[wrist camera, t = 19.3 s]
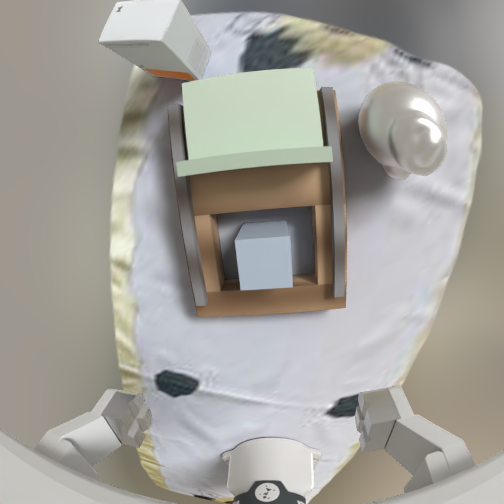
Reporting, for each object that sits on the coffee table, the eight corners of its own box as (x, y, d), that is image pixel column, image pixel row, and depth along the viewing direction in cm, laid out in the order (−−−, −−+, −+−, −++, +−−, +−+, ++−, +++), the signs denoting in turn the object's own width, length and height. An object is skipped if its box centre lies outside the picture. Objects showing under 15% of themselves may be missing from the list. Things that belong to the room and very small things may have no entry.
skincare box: (153, 77, 25) (94, 43, 14) (165, 46, 24) (115, 0, 13) (202, 84, 25) (160, 42, 14) (214, 51, 24) (181, -4, 13)
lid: (323, 162, 24) (333, 161, 20) (192, 174, 25) (177, 176, 21) (311, 70, 21) (318, 54, 17) (184, 85, 22) (168, 72, 18)
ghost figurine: (332, 151, 27) (362, 144, 17) (365, 79, 24) (402, 46, 14) (402, 191, 27) (452, 205, 18) (430, 121, 24) (483, 112, 15)
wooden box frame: (339, 295, 31) (348, 313, 27) (204, 304, 33) (195, 322, 29) (329, 97, 25) (337, 87, 21) (177, 113, 26) (163, 106, 22)
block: (288, 260, 30) (292, 287, 24) (247, 263, 31) (240, 290, 24) (286, 219, 29) (289, 236, 23) (243, 223, 30) (234, 240, 23)
